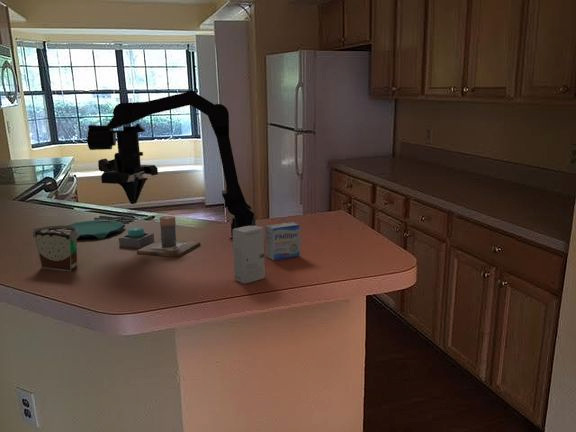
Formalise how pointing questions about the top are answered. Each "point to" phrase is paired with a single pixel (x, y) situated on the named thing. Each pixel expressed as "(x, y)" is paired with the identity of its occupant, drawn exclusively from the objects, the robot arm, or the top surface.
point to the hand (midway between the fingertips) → (133, 203)
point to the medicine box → (282, 241)
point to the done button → (135, 232)
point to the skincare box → (248, 253)
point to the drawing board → (174, 251)
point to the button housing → (136, 241)
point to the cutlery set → (101, 226)
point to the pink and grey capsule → (168, 231)
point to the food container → (57, 247)
